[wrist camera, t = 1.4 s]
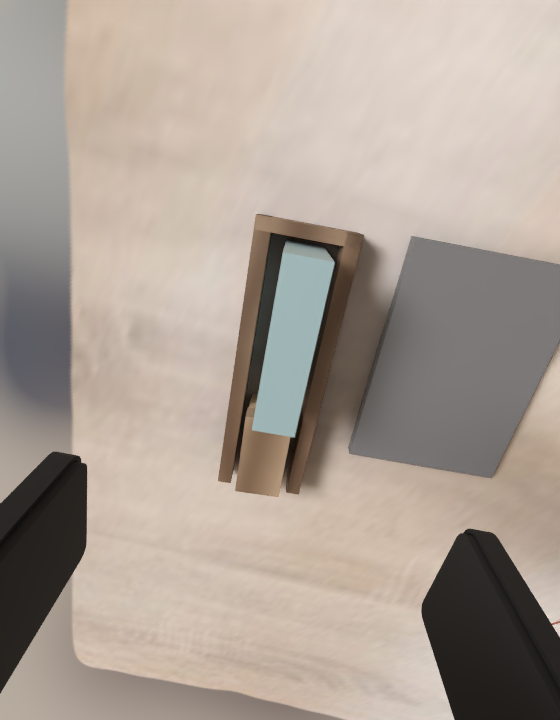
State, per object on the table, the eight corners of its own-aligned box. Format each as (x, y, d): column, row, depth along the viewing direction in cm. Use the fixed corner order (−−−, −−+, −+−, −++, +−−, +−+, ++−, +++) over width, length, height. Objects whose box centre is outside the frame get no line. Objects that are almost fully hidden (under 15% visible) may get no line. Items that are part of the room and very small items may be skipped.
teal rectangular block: (323, 246, 29) (334, 262, 21) (294, 381, 34) (294, 437, 26) (286, 239, 29) (282, 252, 21) (262, 375, 34) (251, 430, 26)
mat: (584, 269, 29) (594, 271, 28) (486, 471, 37) (491, 478, 36) (411, 236, 29) (415, 237, 28) (348, 447, 36) (349, 453, 35)
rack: (358, 232, 29) (363, 235, 26) (298, 476, 38) (298, 494, 36) (259, 213, 29) (256, 214, 26) (222, 464, 38) (218, 480, 35)
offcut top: (293, 414, 32) (293, 423, 31) (278, 485, 35) (278, 497, 34) (247, 407, 32) (245, 416, 31) (237, 479, 35) (235, 490, 34)
